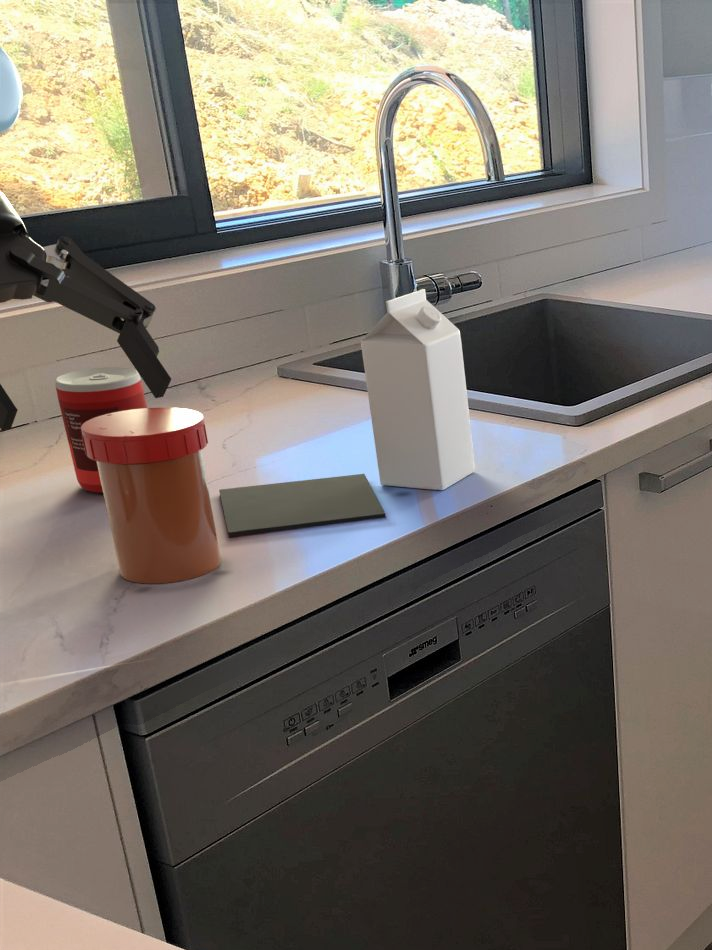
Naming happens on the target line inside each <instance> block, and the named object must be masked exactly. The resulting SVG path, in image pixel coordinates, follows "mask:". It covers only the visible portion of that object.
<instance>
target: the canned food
mask: <svg viewBox="0 0 712 950" xmlns="http://www.w3.org/2000/svg"><path fill="white" fill-rule="evenodd" d="M54 382H55V384H54V385H55V390H56V391H55V392H56V395H57V400H58V404H59V409H60V413H61V418H62V421H63V426H64V431H65V435H66V438H67V439H66V440H67V442H68V447H69V452H70V456H71V460H72V464H73V468H74V469H73V470H74V472H75V477H76V481H77V482H78V484H79V486H80V487H81V489H83V490H85V491H87V492H91V493H98V494H99V493H100V494H102V493H103V489H102V485H101V480H100V475H99V470H98V466H97V461H95V460H92V459H90V458H89V457H88V456H87V455H86V454H85V449H84V444H83V440H82V436H83V435H82V431H81V426H82V424H83V423H85V422H86V421H88V420H90V419H93V418H95V417H98V416H101V415H105V414H109V413H114V412H119V411H125V410H133V409H142V408H148V406H147V401H146V396H145V390H144V387H143V382H142V378H141V376H140V375H139V373H138V372H137V370H136V369H134V368H128V367H120V366H119V367H118V366H117V367H116V366H115V367H114V366H113V367H112V366H108V367H107V366H105V367H93V368H86V369H79V370H74V371H70V372H68V373H63V374H62V375H59V376H58V377H56V378H55V379H54Z"/></svg>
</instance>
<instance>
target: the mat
mask: <svg viewBox="0 0 712 950" xmlns="http://www.w3.org/2000/svg"><path fill="white" fill-rule="evenodd" d="M218 491H219V496H220V502H221V506H222V510H223V516H224V521H225V525H226V526H225V527H226V530H227V537H228V538H236V537H237V538H238V537H245V536H254V535H262V534H269V533H277V532H285V531H292V530H293V531H295V530H301V529H308V528H315V527H316V528H317V527H324V526H332V525H338V524H339V525H340V524H346V523H353V522H355V523H356V522H362V521H368V520H377V519H385V518H387V516H386V512H385V510H384V508H383V506H382V505H381V503H380V501H379V499H378V496H377V495H376V493H375V491H374V489H373V487H372V486H371V484H370V482H369V480H368V478H367V476H366V474H365V473H360V474H358V473H357V474H350V475H342V476H341V475H339V476H331V477H322V478H313V479H304V480H295V481H286V482H276V483H266V484H258V485H248V486H240V487H230V488H221V489H219V490H218Z"/></svg>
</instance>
